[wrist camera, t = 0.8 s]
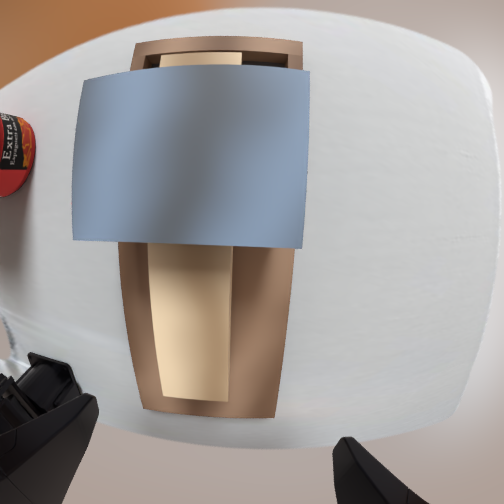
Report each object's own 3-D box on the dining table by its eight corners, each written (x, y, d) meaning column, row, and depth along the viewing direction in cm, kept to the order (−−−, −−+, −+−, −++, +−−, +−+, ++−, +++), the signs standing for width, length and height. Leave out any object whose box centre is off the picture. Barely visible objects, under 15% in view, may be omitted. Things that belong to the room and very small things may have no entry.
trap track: (148, 395, 23) (120, 469, 13) (143, 54, 16) (94, -10, 7) (272, 403, 23) (284, 484, 14) (297, 53, 17) (331, -21, 7)
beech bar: (177, 353, 19) (163, 395, 15) (180, 87, 15) (161, 55, 10) (230, 357, 20) (228, 401, 15) (241, 86, 15) (241, 52, 11)
